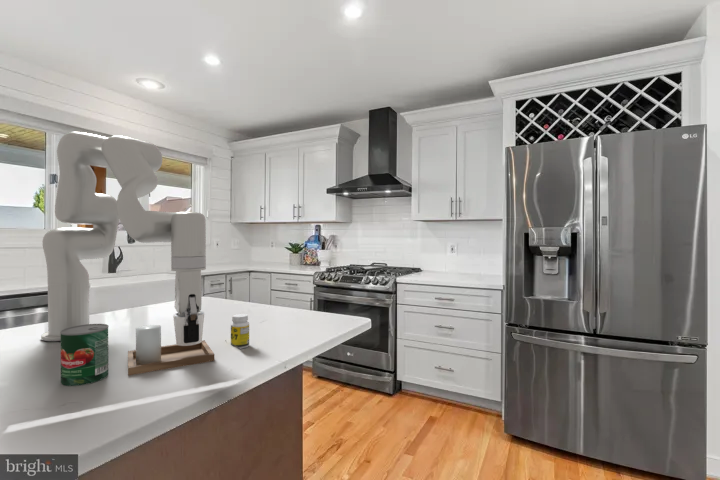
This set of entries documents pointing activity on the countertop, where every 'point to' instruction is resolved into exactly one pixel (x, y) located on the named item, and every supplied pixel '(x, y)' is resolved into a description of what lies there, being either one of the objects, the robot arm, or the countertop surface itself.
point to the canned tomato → (84, 354)
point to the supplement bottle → (240, 331)
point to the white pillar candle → (148, 344)
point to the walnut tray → (173, 358)
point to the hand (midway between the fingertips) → (189, 337)
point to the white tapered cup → (179, 328)
